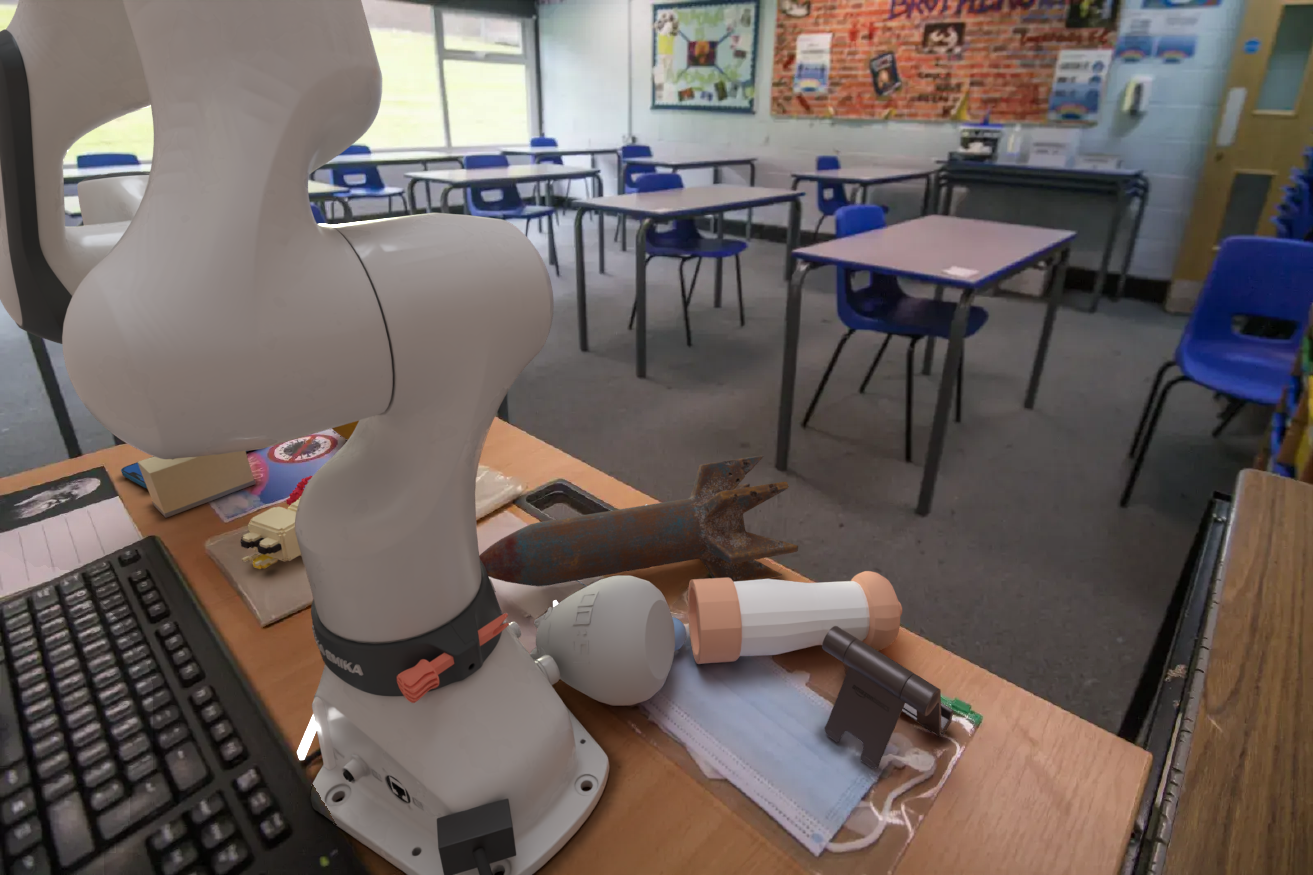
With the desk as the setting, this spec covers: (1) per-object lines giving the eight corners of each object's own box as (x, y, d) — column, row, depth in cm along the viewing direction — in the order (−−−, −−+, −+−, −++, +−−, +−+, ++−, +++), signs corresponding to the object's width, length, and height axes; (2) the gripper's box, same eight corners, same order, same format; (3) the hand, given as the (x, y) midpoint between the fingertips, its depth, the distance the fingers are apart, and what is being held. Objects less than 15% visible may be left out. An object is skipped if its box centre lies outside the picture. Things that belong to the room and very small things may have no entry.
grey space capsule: (627, 701, 50) (488, 695, 54) (680, 712, 58) (557, 707, 63) (638, 559, 54) (508, 565, 59) (686, 589, 63) (570, 592, 67)
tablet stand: (951, 730, 56) (975, 653, 52) (901, 790, 51) (923, 710, 47) (856, 668, 62) (871, 595, 58) (802, 718, 57) (815, 641, 53)
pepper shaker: (702, 624, 57) (927, 610, 59) (689, 562, 63) (893, 551, 65) (697, 681, 61) (907, 667, 63) (685, 618, 67) (877, 606, 69)
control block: (256, 483, 88) (243, 441, 85) (165, 518, 81) (149, 473, 78) (242, 473, 90) (229, 431, 87) (153, 505, 83) (136, 461, 80)
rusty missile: (489, 635, 70) (767, 581, 77) (482, 624, 58) (809, 563, 65) (475, 516, 73) (741, 475, 80) (465, 485, 62) (776, 440, 69)
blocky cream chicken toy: (388, 467, 94) (217, 558, 73) (381, 406, 91) (199, 484, 69) (449, 483, 91) (287, 584, 69) (444, 421, 87) (272, 507, 66)
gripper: (104, 314, 80) (144, 421, 87) (171, 356, 69) (211, 476, 75) (166, 302, 85) (199, 405, 91) (238, 340, 73) (270, 455, 80)
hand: (205, 438), depth 83 cm, fingers closed
